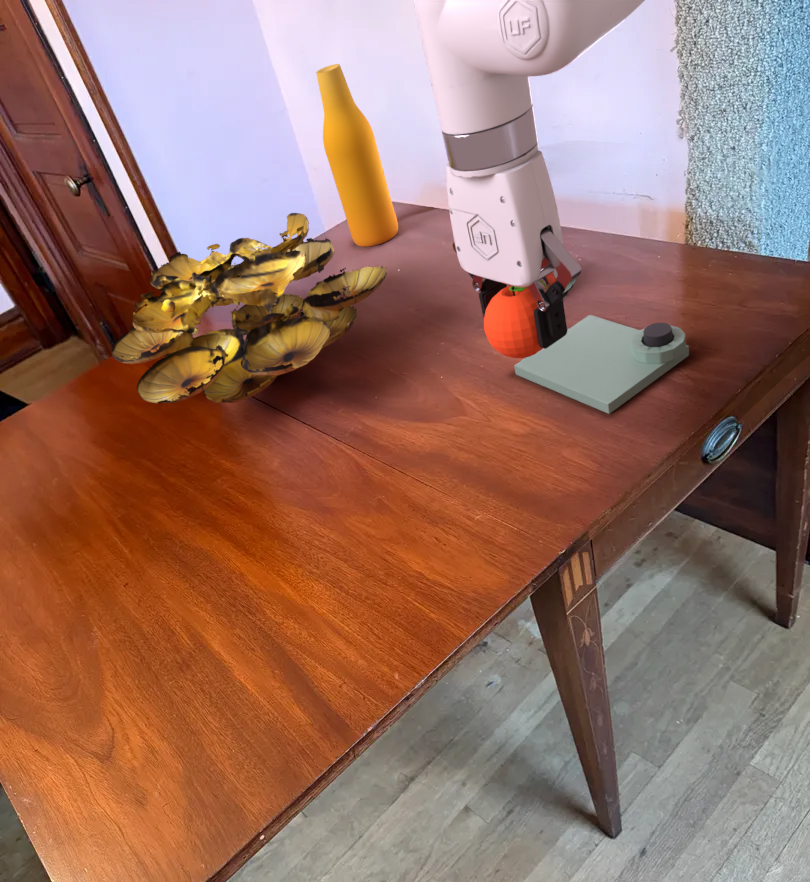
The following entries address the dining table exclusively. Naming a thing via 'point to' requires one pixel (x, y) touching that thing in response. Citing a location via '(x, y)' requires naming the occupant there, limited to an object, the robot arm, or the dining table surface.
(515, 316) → the clementine
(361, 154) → the beer bottle
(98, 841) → the dining table surface
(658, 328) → the tare button
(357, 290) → the mushroom
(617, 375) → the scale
